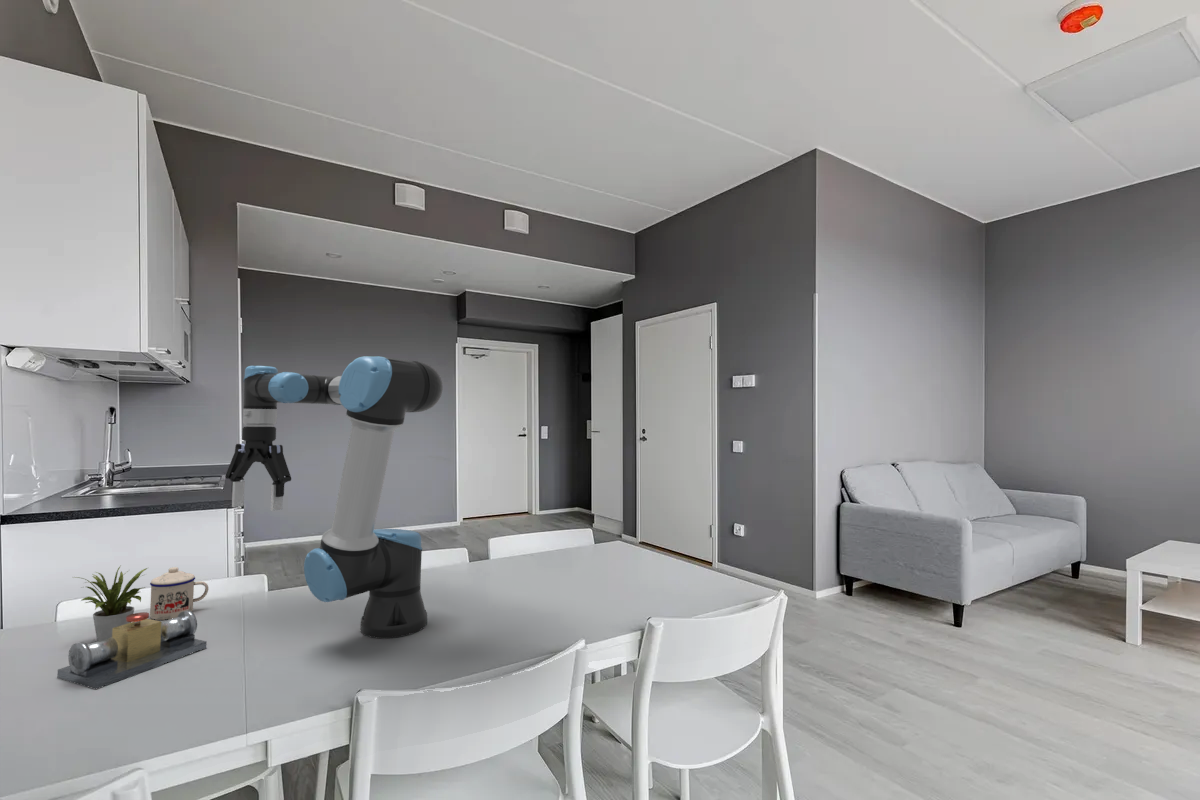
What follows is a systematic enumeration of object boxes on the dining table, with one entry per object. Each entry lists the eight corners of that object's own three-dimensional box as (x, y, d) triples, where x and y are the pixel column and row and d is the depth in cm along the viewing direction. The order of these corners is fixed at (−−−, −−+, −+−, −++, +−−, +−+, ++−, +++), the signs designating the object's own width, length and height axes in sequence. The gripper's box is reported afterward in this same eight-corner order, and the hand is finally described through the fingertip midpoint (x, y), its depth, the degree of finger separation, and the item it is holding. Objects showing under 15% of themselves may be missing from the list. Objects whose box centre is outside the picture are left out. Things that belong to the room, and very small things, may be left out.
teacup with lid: (148, 623, 136) (150, 574, 136) (148, 613, 143) (150, 566, 143) (209, 613, 143) (210, 567, 144) (206, 604, 150) (207, 560, 151)
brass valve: (144, 647, 118) (146, 609, 118) (160, 651, 116) (161, 612, 117) (111, 658, 113) (113, 618, 113) (127, 662, 111) (128, 621, 111)
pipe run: (169, 639, 126) (171, 606, 126) (206, 648, 122) (207, 614, 122) (57, 677, 107) (59, 638, 108) (95, 689, 103) (97, 648, 103)
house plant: (51, 659, 115) (55, 579, 116) (70, 637, 127) (73, 563, 127) (141, 645, 123) (144, 570, 123) (150, 625, 134) (153, 556, 135)
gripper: (211, 425, 147) (208, 507, 146) (283, 426, 138) (280, 513, 138) (238, 425, 154) (235, 503, 153) (308, 426, 145) (305, 509, 145)
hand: (256, 508), depth 145 cm, fingers open, 13 cm apart
